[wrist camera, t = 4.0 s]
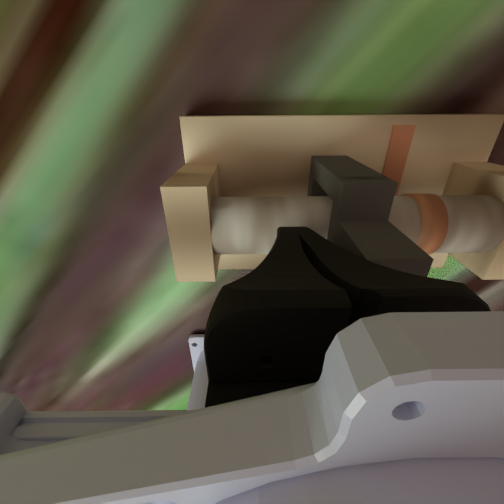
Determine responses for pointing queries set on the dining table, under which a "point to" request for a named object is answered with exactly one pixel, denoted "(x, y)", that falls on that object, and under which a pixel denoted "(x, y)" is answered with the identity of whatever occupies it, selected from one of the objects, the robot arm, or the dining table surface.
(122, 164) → the dining table surface
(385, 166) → the pipe stand
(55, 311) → the dining table surface
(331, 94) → the dining table surface
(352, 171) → the dark grey z bracket
